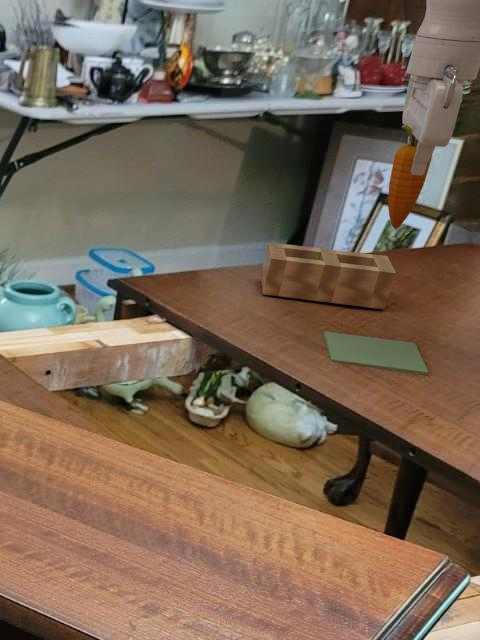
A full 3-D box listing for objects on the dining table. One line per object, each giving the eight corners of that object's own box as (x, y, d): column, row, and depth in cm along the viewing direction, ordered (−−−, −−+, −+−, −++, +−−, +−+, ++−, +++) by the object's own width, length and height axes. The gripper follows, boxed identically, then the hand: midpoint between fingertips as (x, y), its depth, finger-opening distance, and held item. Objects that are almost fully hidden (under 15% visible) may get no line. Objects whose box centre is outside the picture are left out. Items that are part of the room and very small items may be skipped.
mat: (413, 348, 164) (415, 342, 164) (427, 377, 153) (429, 372, 153) (322, 336, 166) (324, 331, 166) (330, 364, 156) (331, 359, 155)
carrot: (400, 234, 157) (429, 121, 149) (370, 227, 160) (396, 116, 152) (420, 229, 159) (450, 118, 151) (389, 222, 163) (417, 113, 155)
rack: (376, 291, 189) (387, 255, 186) (384, 309, 180) (396, 272, 177) (260, 277, 193) (268, 242, 189) (262, 294, 184) (271, 258, 180)
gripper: (484, 72, 139) (448, 186, 146) (456, 56, 156) (426, 159, 163) (431, 68, 140) (398, 181, 148) (409, 53, 157) (381, 155, 164)
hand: (413, 170), depth 155 cm, fingers closed on carrot, 5 cm apart
